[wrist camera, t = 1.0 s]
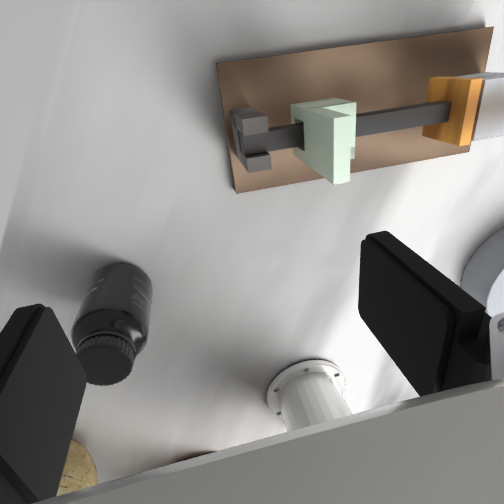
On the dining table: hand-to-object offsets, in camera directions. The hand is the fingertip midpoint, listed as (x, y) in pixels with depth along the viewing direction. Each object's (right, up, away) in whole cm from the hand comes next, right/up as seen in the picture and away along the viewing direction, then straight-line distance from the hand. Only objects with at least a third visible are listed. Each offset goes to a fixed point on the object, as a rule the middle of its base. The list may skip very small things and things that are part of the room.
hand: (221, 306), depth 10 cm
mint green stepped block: (+6, +13, +21) cm, 25 cm away
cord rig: (+12, +16, +25) cm, 32 cm away
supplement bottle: (-14, -2, +29) cm, 32 cm away
